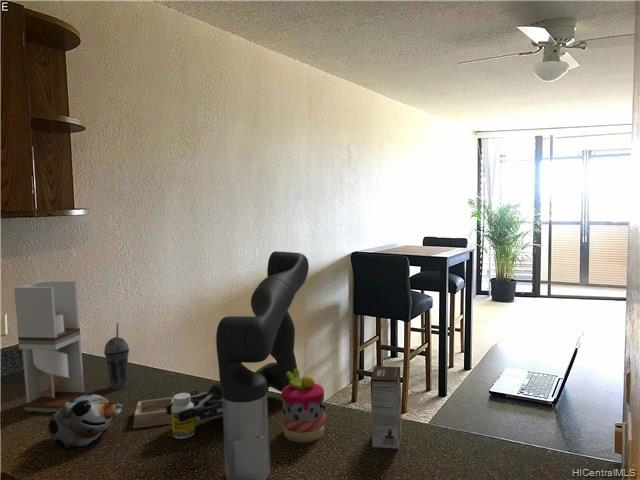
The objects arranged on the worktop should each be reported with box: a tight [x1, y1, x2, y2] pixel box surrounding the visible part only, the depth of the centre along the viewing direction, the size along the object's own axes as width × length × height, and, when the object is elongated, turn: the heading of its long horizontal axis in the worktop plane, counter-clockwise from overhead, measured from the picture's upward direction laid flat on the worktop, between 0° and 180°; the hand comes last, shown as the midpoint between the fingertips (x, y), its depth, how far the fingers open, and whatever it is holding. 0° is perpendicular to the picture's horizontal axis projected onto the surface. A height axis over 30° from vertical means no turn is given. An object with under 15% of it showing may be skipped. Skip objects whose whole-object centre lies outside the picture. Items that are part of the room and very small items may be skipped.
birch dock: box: [132, 396, 174, 429], centre depth 136 cm, size 11×10×3 cm
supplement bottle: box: [171, 392, 196, 440], centre depth 125 cm, size 5×5×10 cm
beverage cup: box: [103, 322, 130, 390], centre depth 159 cm, size 7×7×20 cm
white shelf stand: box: [13, 280, 86, 413], centre depth 146 cm, size 11×11×35 cm
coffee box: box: [370, 366, 403, 450], centre depth 119 cm, size 9×6×16 cm
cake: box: [280, 368, 327, 443], centre depth 124 cm, size 10×11×15 cm
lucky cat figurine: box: [47, 394, 124, 449], centre depth 125 cm, size 15×12×14 cm
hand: (173, 413), depth 123 cm, fingers closed on supplement bottle, 5 cm apart
